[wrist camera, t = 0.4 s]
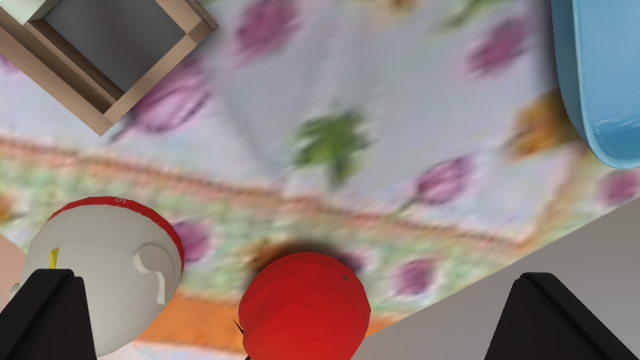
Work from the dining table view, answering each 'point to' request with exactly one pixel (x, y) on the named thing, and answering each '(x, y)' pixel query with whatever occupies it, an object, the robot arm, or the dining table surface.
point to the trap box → (100, 49)
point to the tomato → (304, 310)
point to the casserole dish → (601, 74)
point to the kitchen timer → (112, 263)
